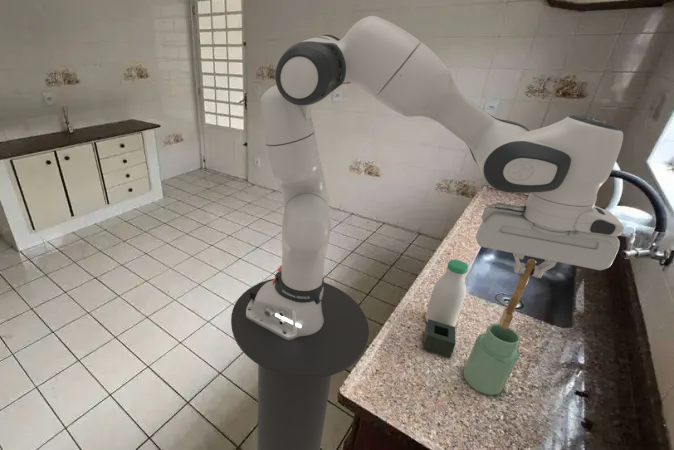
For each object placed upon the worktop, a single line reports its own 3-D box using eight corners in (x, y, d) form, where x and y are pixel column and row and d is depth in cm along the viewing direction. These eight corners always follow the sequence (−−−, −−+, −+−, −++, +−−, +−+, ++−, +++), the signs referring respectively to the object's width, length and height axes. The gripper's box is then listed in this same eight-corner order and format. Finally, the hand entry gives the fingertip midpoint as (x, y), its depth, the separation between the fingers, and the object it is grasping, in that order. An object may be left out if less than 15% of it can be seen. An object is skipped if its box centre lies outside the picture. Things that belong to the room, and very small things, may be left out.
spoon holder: (422, 349, 91) (427, 335, 89) (423, 332, 96) (428, 319, 94) (450, 357, 88) (455, 343, 86) (450, 340, 93) (455, 326, 91)
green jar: (463, 386, 81) (484, 339, 74) (462, 361, 87) (481, 316, 80) (504, 400, 78) (529, 353, 71) (500, 373, 84) (523, 327, 77)
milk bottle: (453, 335, 95) (475, 276, 85) (422, 325, 98) (440, 266, 89) (455, 318, 101) (476, 261, 91) (426, 309, 104) (443, 252, 95)
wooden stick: (500, 327, 75) (529, 261, 67) (498, 320, 77) (527, 255, 68) (508, 329, 74) (538, 263, 66) (506, 322, 76) (536, 257, 68)
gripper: (488, 207, 64) (467, 268, 71) (637, 230, 56) (597, 298, 62) (485, 194, 69) (465, 253, 75) (622, 214, 61) (586, 278, 67)
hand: (526, 273), depth 69 cm, fingers closed on wooden stick, 1 cm apart
